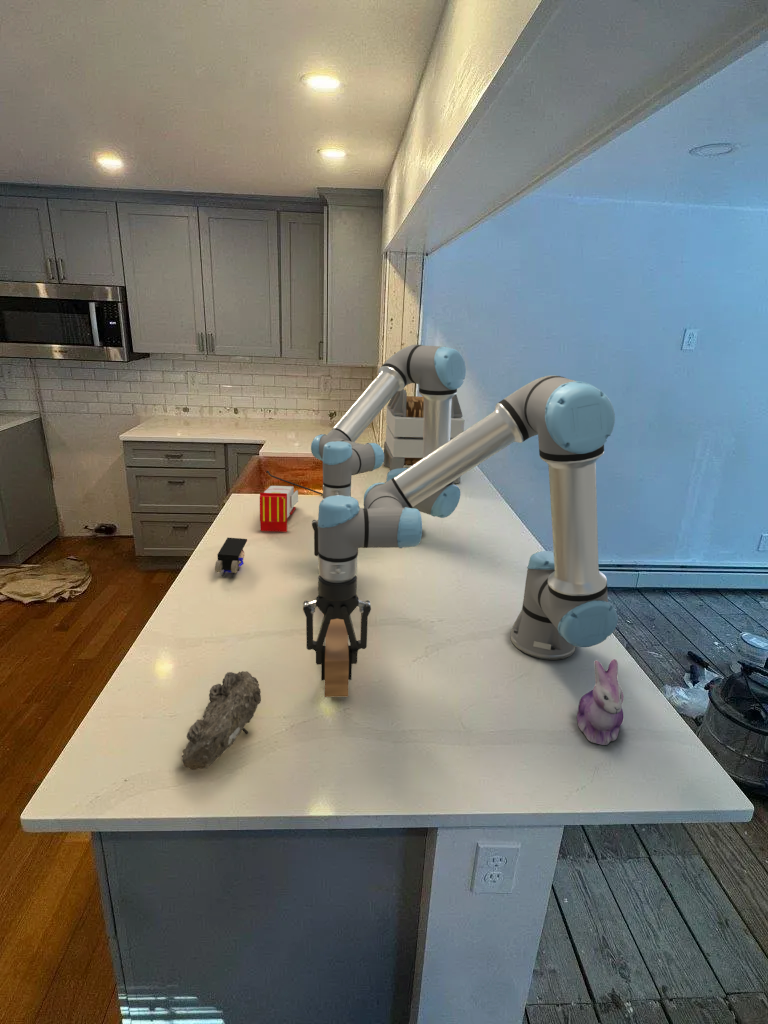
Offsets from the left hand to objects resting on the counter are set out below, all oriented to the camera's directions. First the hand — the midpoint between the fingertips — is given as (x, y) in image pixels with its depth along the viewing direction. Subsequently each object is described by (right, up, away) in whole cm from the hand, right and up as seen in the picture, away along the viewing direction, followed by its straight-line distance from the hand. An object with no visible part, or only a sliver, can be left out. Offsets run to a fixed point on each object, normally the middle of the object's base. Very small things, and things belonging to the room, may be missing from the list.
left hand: (335, 577), depth 160 cm
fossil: (-15, -22, -56) cm, 62 cm away
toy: (-25, +16, +49) cm, 57 cm away
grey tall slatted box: (+31, +37, +115) cm, 124 cm away
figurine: (+55, -24, -51) cm, 79 cm away
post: (+2, -8, -21) cm, 23 cm away
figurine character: (-31, +1, +7) cm, 32 cm away
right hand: (+4, -16, -43) cm, 46 cm away
